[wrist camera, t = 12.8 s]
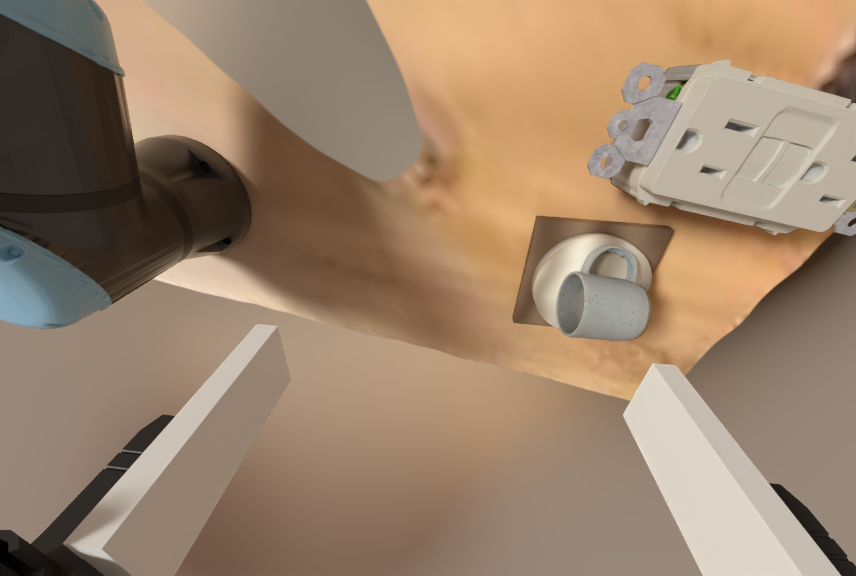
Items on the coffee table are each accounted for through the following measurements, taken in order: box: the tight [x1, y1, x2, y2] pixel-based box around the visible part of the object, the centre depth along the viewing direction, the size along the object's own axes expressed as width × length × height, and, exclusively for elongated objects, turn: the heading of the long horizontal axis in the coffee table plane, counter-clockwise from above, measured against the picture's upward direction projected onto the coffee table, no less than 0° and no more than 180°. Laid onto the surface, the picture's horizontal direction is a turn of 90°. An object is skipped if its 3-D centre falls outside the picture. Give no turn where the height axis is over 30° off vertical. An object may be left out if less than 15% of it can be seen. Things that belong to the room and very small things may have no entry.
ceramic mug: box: [556, 245, 652, 341], centre depth 37 cm, size 11×8×8 cm
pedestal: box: [513, 216, 674, 329], centre depth 42 cm, size 16×16×4 cm
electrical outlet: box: [587, 59, 856, 236], centre depth 31 cm, size 12×28×10 cm, turn 78°
